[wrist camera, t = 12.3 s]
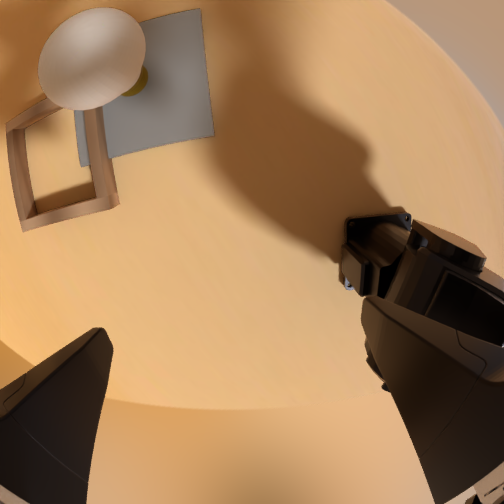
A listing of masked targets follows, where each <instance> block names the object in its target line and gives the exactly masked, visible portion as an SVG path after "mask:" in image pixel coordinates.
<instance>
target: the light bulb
mask: <svg viewBox="0 0 504 504" xmlns="http://www.w3.org/2000/svg"><path fill="white" fill-rule="evenodd" d="M145 52H146V43H145V37H144V34H143V31H142V29H141V27H140V25H139V24H138V23H137V21H136V20H135V19H134V18H133V17H132V16H130V15H129V14H127V13H125V12H123V11H121V10H118V9H114V8H106V7H100V8H93V9H88V10H85V11H82V12H80V13H78V14H75V15H74V16H72V17H70V18H69V19H67V20H66V21H64V22H63V23H62V24H61V25H60V26H59V27H57V28H56V29H55V31H54V32H53V33H52V34H51V35H50V37H49V38H48V40H47V41H46V43H45V45H44V47H43V49H42V52H41V54H40V58H39V63H38V78H39V82H40V85H41V88H42V90H43V92H44V93H45V95H46V96H47V97H48V98H49V99H50V100H51V101H52V102H53V103H55V104H56V105H58V106H60V107H63V108H66V109H70V110H89V109H94V108H97V107H100V106H103V105H105V104H107V103H109V102H111V101H112V100H114V99H116V98H117V97H118V96H120V95H122V96H126V97H129V96H134V95H136V94H138V93H139V92H141V91H142V90H143V89H144V87H145V86H146V84H147V81H148V71H147V69H146V68H145V67H144V66H143V65H142V64H143V61H144V57H145Z"/></svg>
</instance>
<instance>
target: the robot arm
mask: <svg viewBox="0 0 504 504" xmlns="http://www.w3.org/2000/svg"><path fill="white" fill-rule="evenodd" d="M406 216H407V219H406V220H405V217H406ZM350 222H353V225H352V226H349V224H350ZM411 227H412V229H411ZM486 259H487V258H486V256H485V255H484V254H483V253H482V252H481V250H480V249H479V248H478V247H477V246H476V245H475V244H473V243H471V242H469V241H467V240H465V239H463V238H461V237H459V236H457V235H455V234H453V233H451V232H448V231H445V230H443V229H440V228H437V227H435V226H432V225H429V224H426V223H423V222H420V221H418V220H415V219H413V221H412V224H411V215H410V214H409V213H407V212H401V213H389V214H379V215H368V216H358V217H350V218H348V219H346V221H345V243H344V244H343V245H342V273H343V275H344V287H345V288H346V289H347V290H353V289H355V290H356V292H357V293H358V294H359V295H360V296H361V297H364V296H366V298H364V300H363V305H362V313H361V323H362V326H363V329H364V332H365V334H366V339H365V348H366V351H367V355H368V357H367V359H366V361H367V363H368V365H369V366H370V368H371V369H372V370H373V372H374V373H375V374H376V375H377V376H378V377H379V378H380V379H381V380H382V381H383V382H384V383H383V385H382V389H383V390H385V391H388V392H390V393H391V395H392V397H393V399H394V401H395V403H396V406H397V408H398V410H399V412H400V415H401V417H402V419H403V422H404V424H405V426H406V428H407V431H408V433H409V436H410V438H411V440H412V443H413V445H414V448H415V450H416V453H417V455H418V457H419V458H420V459H419V460H420V463H421V466H422V468H423V471H424V474H425V477H426V479H427V482H428V485H429V487H430V491H431V493H432V496H433V499H434V502H435V504H444V503H446V502H448V501H450V500H451V499H453V498H455V497H456V496H458V495H459V494H461V493H462V492H464V491H465V490H467V489H468V488H470V487H471V486H474V488H475V490H476V492H477V493H476V494H474V495H473V496H472V497H470V498H469V499H467V500H466V502H465V504H504V279H503V278H502V277H500V276H499V275H497V274H495V273H494V272H492V271H491V270H489V269H487V268H486V267H484V264H485V261H486ZM349 283H350V285H349V286H348V284H349ZM112 356H113V345H112V343H111V341H110V339H109V337H108V335H107V332H106V330H105V329H104V328H102V327H101V328H92V329H91V330H89V331H88V332H86V333H85V334H83V335H82V336H80V337H79V338H77V339H75V340H74V341H72V342H71V343H69V344H68V345H66V346H65V347H63V348H62V349H60V350H59V351H57V352H56V353H54V354H53V355H51V356H50V357H48V358H47V359H45V360H44V361H42V362H41V363H40V364H38V365H37V366H35V367H34V368H32V369H31V370H29V371H28V372H27V373H25V374H23V375H22V376H20V377H19V378H18V379H16V380H14V381H13V382H11V383H10V384H8V385H7V386H5V387H4V388H2V389H0V504H86V501H87V491H88V480H89V474H90V467H91V459H92V454H93V449H94V443H95V438H96V433H97V428H98V423H99V419H100V414H101V410H102V405H103V402H104V398H105V394H106V390H107V385H108V380H109V373H110V367H111V362H112Z"/></svg>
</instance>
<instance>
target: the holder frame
mask: <svg viewBox="0 0 504 504" xmlns="http://www.w3.org/2000/svg"><path fill="white" fill-rule="evenodd" d="M60 109H63V107H60V106H58V105H56V104H55V103H53V102H52V101H51V100H50V99H49V98H46V99H44V100H42V101H41V102H39V103H37V104H35V105H34V106H32V107H30V108H29V109H27V110H25V111H24V112H22V113H21V114H19V115H18V116H16V117H15V118H13V119H12V120H10V121H9V122H7V123H6V139H7V151H8V160H9V168H10V175H11V181H12V187H13V193H14V198H15V203H16V207H17V212H18V216H19V220H20V224H21V228H22V231H23V232H25V231H29V230H32V229H35V228H39V227H42V226H46V225H49V224H53V223H57V222H60V221H64V220H68V219H72V218H76V217H80V216H84V215H88V214H92V213H96V212H101V211H105V210H110V209H112V208H114V207H115V206H117V205H119V204H120V202H119V197H118V192H117V187H116V182H115V176H114V171H113V165H112V158H110V159H109V157H108V150H107V143H106V135H105V127H104V117H103V106H100V107H97V108H94V109H89V110H84V117H85V127H86V136H87V144H88V152H89V159H90V165H91V171H92V177H93V182H94V187H95V193H96V197H95V198H91V199H87V200H83V201H80V202H76V203H73V204H69V205H66V206H62V207H59V208H56V209H53V210H49V211H46V212H43V213H40V214H37V211H36V206H35V202H34V197H33V192H32V187H31V181H30V176H29V169H28V162H27V154H26V145H25V133H24V129H25V128H26V127H28V126H30V125H32V124H33V123H35V122H37V121H39V120H41V119H43V118H45V117H46V116H48V115H50V114H52V113H54V112H56V111H58V110H60Z"/></svg>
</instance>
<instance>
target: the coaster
mask: <svg viewBox="0 0 504 504" xmlns="http://www.w3.org/2000/svg"><path fill="white" fill-rule="evenodd" d="M138 24H139V25H140V27H141V29H142V31H143V34H144V37H145V43H146V52H145V57H144V61H143V64H142V65H143V66H144V67H145V68H146V69H147V71H148V81H147V84H146V86H145V87H144V89H143V90H142V91H141V92H139V93H138V94H136V95H134V96H129V97H126V96H122V95H120V96H118V97H117V98H116V99H114V100H112V101H111V102H109V103H107V104H105V105H103V117H104V127H105V135H106V143H107V150H108V157H109V159H110V158H114V157H118V156H121V155H125V154H129V153H133V152H137V151H141V150H145V149H149V148H153V147H158V146H162V145H167V144H172V143H177V142H182V141H187V140H193V139H198V138H204V137H211V136H215V134H214V126H213V118H212V110H211V102H210V93H209V85H208V76H207V67H206V58H205V49H204V39H203V29H202V19H201V10H200V8H199V9H194V10H188V11H183V12H179V13H174V14H170V15H166V16H162V17H158V18H154V19H151V20H147V21H144V22H140V23H138ZM74 114H75V126H76V136H77V144H78V152H79V159H80V165H81V167H85V166H88V165H90V159H89V152H88V144H87V136H86V127H85V117H84V110H74Z"/></svg>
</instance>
